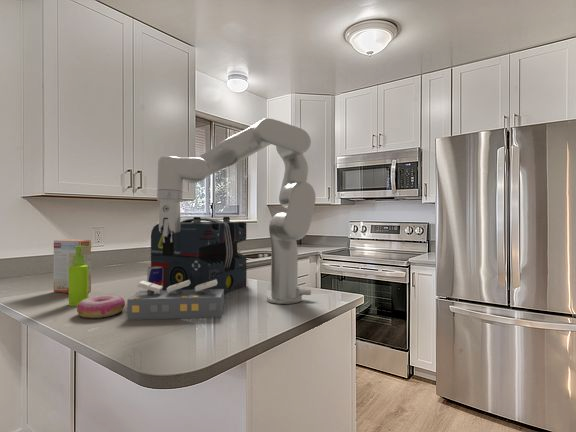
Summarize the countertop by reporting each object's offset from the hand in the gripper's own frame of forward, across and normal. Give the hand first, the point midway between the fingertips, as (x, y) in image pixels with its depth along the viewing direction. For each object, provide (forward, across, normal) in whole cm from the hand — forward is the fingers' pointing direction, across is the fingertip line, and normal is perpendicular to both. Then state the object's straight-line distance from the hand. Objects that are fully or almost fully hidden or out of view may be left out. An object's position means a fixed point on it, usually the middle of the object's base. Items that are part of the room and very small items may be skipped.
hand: (168, 255), depth 111 cm
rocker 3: (+9, 0, -12) cm, 15 cm away
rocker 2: (+10, 0, -3) cm, 10 cm away
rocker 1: (+10, 0, +5) cm, 11 cm away
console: (+18, 0, -4) cm, 18 cm away
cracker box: (+19, +37, +44) cm, 61 cm away
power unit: (+18, +36, -6) cm, 41 cm away
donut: (+19, +3, +20) cm, 28 cm away
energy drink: (+18, +18, +8) cm, 27 cm away
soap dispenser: (+19, +17, +33) cm, 41 cm away
